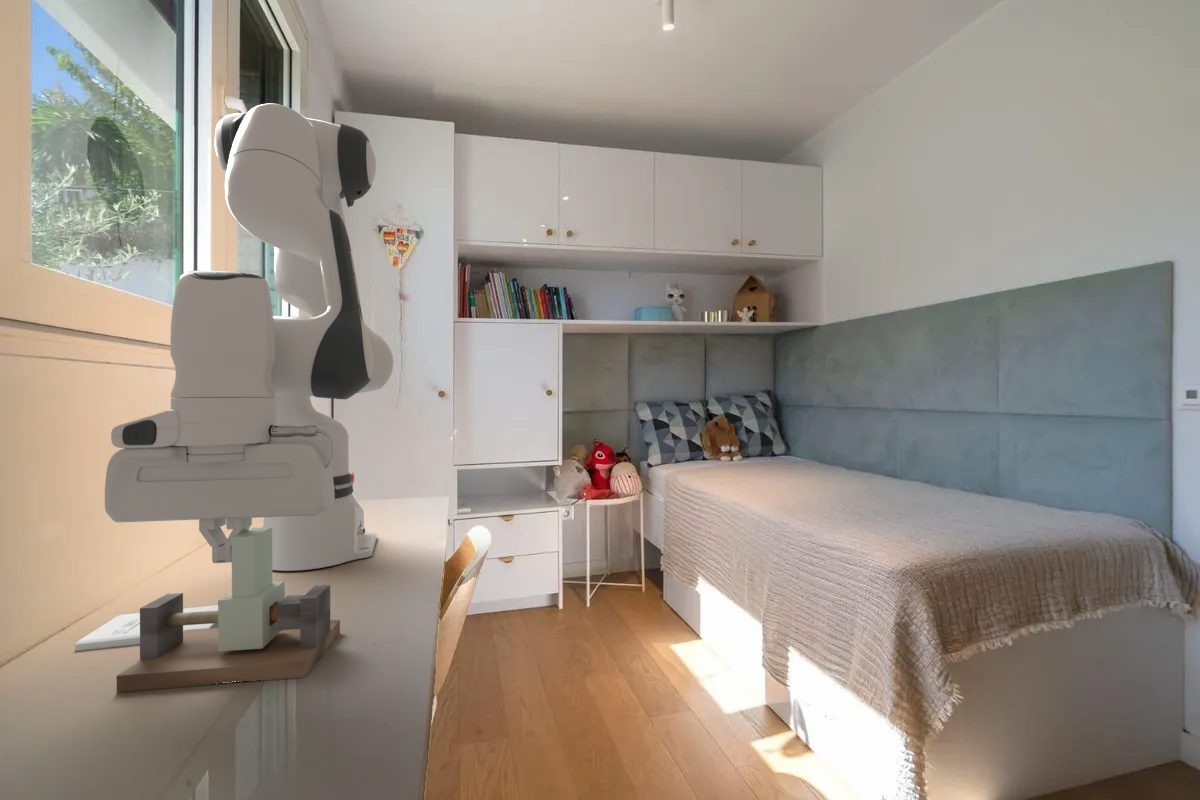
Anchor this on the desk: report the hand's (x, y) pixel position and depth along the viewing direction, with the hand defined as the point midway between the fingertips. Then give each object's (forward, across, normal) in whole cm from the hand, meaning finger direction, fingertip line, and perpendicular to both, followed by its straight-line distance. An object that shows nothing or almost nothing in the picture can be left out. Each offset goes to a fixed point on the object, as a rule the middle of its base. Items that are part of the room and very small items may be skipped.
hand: (226, 561), depth 54 cm
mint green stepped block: (+8, -3, 0) cm, 8 cm away
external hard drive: (+11, +12, -10) cm, 19 cm away
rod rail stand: (+10, -1, 0) cm, 10 cm away
